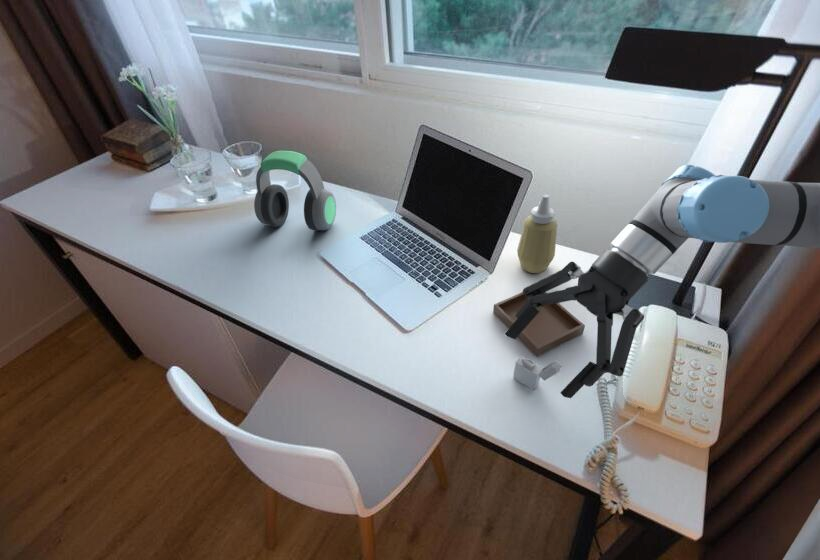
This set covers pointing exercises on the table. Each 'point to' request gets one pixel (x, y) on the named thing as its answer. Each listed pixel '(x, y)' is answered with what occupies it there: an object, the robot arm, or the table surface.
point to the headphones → (274, 197)
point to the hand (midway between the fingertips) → (535, 364)
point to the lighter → (533, 372)
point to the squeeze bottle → (538, 238)
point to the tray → (540, 324)
